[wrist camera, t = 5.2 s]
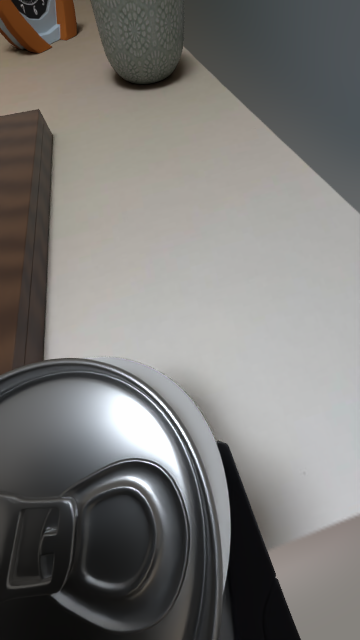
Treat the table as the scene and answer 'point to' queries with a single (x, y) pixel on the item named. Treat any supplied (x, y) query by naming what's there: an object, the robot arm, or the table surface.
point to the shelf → (23, 236)
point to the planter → (141, 36)
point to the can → (108, 506)
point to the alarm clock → (37, 22)
